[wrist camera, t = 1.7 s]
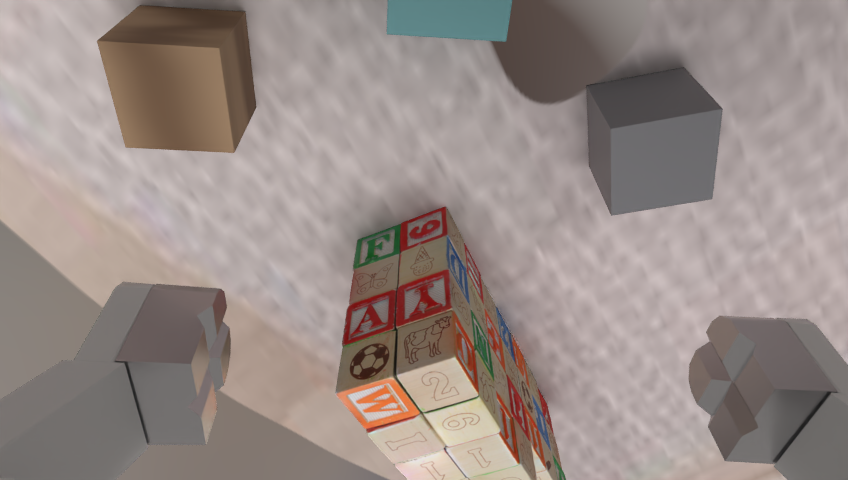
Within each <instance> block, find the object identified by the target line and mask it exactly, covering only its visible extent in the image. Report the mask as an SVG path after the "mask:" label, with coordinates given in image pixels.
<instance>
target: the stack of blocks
mask: <svg viewBox="0 0 848 480" xmlns="http://www.w3.org/2000/svg"><path fill="white" fill-rule="evenodd" d="M353 271H354V274H353V280H352V287H351V292H350V301H349V304H350V306H349V307H348V308H347V313H346V319H345V328H344V335H343V341H342V346H343V349H342V355H341V361H340V366H339V373H338V380H337V386H336V396H337V397H338V398H339V399H340V401H341V402H342V403H343V404H344V405H345V406H346V407H347V408H348V410H349V411H350V412H351V413H352V414H353V416H354V417H355V418H356V419H357V420H358V421H359V422H360V424H361V425H362V426H363V427H364V428H365V429H366V432H367V435H368V437H369V438H370V439H371V440H372V441H373V442H374V444H375V445H376V446H377V447H378V448H379V449H380V450H381V451H382V452H383V453H384V454H385V456H386V457H387V458H388V459H389V460H390V461H391V462H392V463H394V465H395V467H396V468H397V469H398V470H399V472H400V473H402V475H403V476H404V477H405V478H406V479H407V480H566V478H565V475H564V473H563V471H562V467H561V462H560V458H559V453H558V448H557V444H556V440H555V437H554V434H553V429H552V424H551V419H550V415H549V411H548V406H547V404H546V402H545V400H544V398H543V397H542V395H541V393H540V391H539V389H538V387H537V384H536V381H535V379H534V377H533V375H532V373H531V371H530V369H529V368H528V366H527V364H526V362H525V361H524V358H523V356H522V354H521V352H520V350H519V348H518V346H517V344H516V342H515V340H514V338H513V336H512V335H511V334H510V333H509V331H508V329H507V327H506V325H505V323H504V321H503V319H502V317H501V315H500V313H499V311H498V309H497V307H496V306H495V304H494V302H493V300H492V298H491V296H490V294H489V292H488V290H487V288H486V287H485V285H484V283H483V281H482V279H481V277H480V276H481V275H480V273H479V271H478V269H477V267H476V265H475V263H474V261H473V259H472V257H471V255H470V253H469V251H468V249H467V247H466V245H465V243H464V241H463V238H462V236H461V234H460V232H459V230H458V228H457V226H456V224H455V222H454V220H453V218H452V217H451V215H450V213H449V211H448V209H447V208H446V207H443V208H440V209H437V210H435V211H432V212H429V213H427V214H424V215H421V216H419V217H416V218H414V219H411V220H409V221H406V222H403V223H401V224H400V225H397V226H394V227H392V228H389V229H386V230H384V231H381V232H378V233H375V234H373V235H370V236H367V237H365V238H362V239H359V240H358V241H357V247H356V253H355V258H354V265H353Z"/></svg>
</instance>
